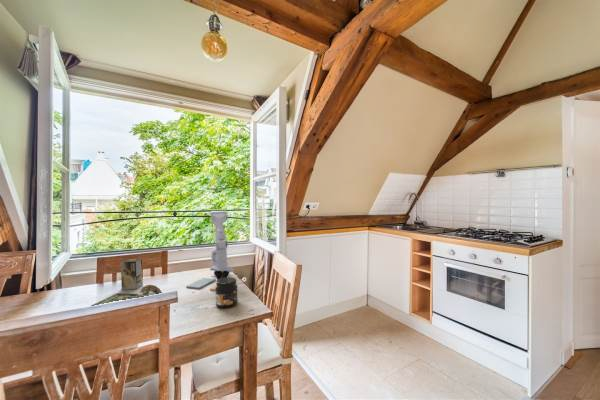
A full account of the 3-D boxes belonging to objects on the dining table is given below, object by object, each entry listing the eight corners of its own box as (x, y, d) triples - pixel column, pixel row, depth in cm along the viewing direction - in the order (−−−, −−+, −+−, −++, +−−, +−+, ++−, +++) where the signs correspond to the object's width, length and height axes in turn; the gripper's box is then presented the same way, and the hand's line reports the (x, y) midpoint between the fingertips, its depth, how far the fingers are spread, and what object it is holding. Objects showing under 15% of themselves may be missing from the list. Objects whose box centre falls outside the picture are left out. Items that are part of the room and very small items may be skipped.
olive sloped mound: (171, 282, 135) (144, 297, 115) (172, 296, 135) (145, 314, 115) (116, 280, 139) (81, 295, 119) (117, 294, 139) (81, 311, 119)
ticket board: (203, 279, 160) (203, 277, 160) (215, 280, 158) (215, 278, 158) (186, 288, 146) (186, 285, 146) (199, 289, 143) (199, 287, 143)
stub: (225, 281, 155) (225, 273, 155) (233, 282, 154) (233, 274, 154) (210, 290, 141) (209, 281, 141) (218, 291, 139) (218, 282, 139)
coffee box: (143, 285, 152) (142, 258, 151) (136, 289, 145) (136, 261, 145) (128, 285, 151) (127, 259, 151) (120, 289, 145) (120, 261, 145)
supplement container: (213, 309, 118) (212, 284, 118) (218, 300, 128) (218, 277, 128) (235, 308, 119) (235, 283, 118) (239, 299, 129) (239, 276, 129)
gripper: (206, 261, 145) (207, 284, 146) (228, 263, 141) (228, 286, 141) (214, 258, 152) (214, 280, 152) (235, 259, 148) (235, 282, 148)
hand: (222, 283), depth 147 cm, fingers closed on stub, 2 cm apart
